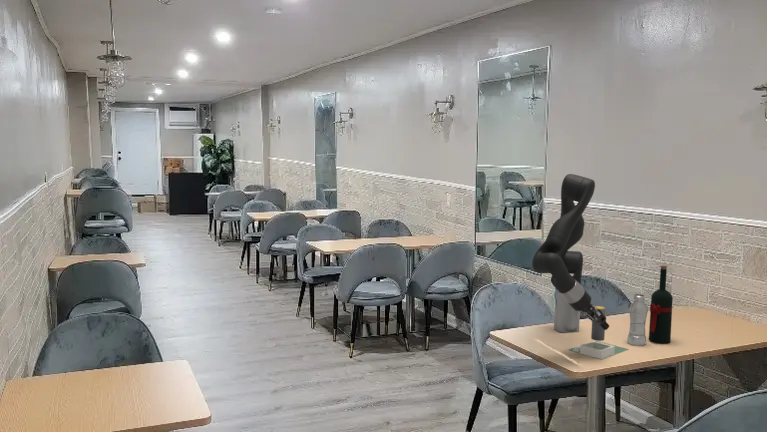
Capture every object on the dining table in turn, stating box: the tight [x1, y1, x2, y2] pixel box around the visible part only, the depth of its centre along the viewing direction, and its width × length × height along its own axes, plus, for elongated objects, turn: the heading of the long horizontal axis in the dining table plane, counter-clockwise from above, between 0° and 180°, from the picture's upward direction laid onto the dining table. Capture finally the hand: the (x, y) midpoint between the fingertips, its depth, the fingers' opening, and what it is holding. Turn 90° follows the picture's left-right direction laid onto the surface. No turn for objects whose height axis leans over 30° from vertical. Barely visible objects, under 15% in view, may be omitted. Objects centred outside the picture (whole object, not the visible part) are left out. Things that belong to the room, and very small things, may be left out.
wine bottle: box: [648, 265, 674, 345], centre depth 250 cm, size 8×10×30 cm
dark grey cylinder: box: [590, 305, 607, 342], centre depth 230 cm, size 5×4×12 cm
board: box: [567, 340, 630, 360], centre depth 236 cm, size 14×19×4 cm
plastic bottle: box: [627, 293, 649, 347], centre depth 243 cm, size 6×7×20 cm
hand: (602, 326), depth 230 cm, fingers closed on dark grey cylinder, 4 cm apart
